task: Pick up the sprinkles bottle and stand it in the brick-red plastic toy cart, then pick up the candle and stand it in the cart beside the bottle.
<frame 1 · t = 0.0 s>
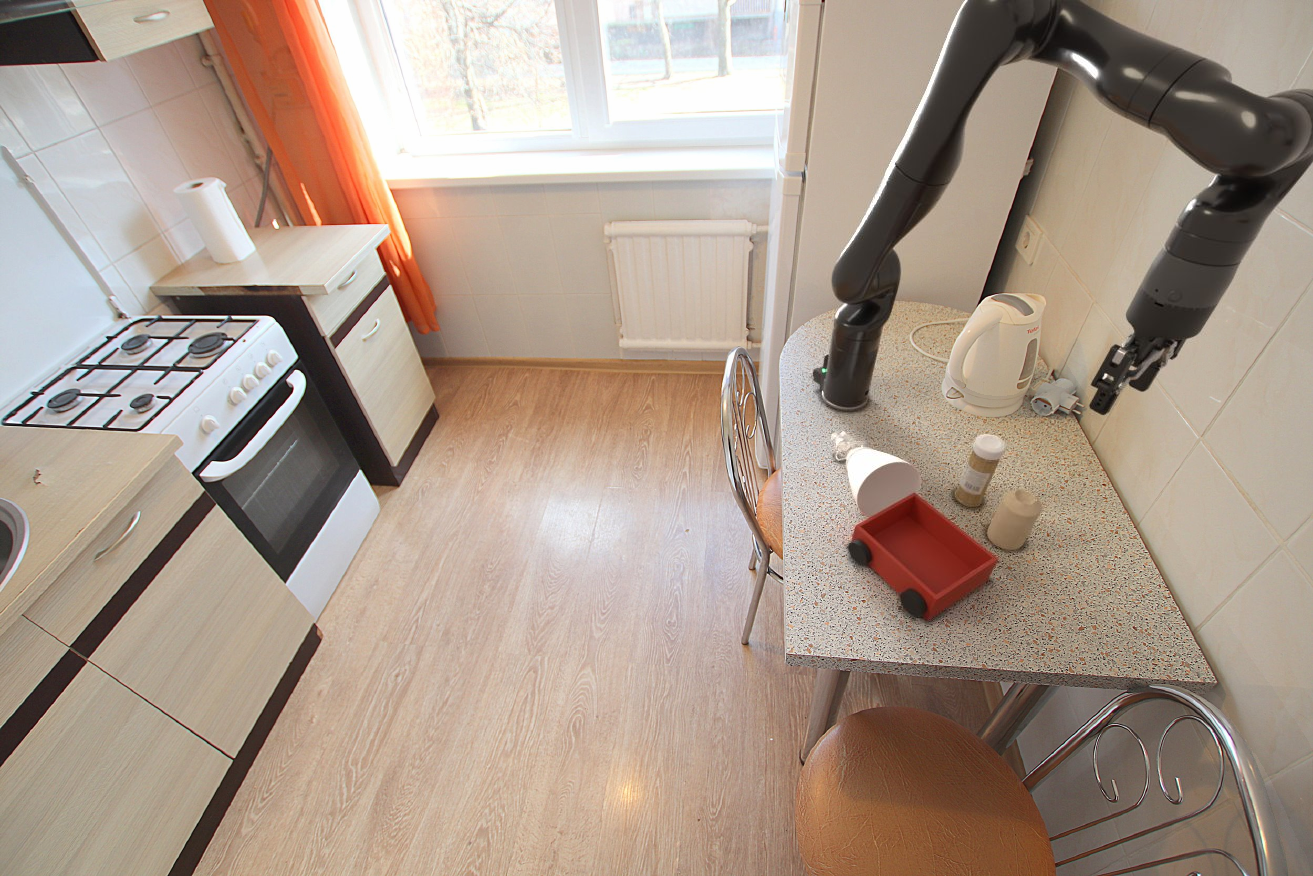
hand: (1117, 399, 81), 29 cm above the table, tool pointing down, fingers open, 8 cm apart
sprinkles bottle: (967, 499, 108), on the table
rocket engine: (869, 481, 112), on the table
candle: (1004, 538, 101), on the table
cart wheels: (916, 563, 98), on the table
cart: (916, 563, 98), on the table
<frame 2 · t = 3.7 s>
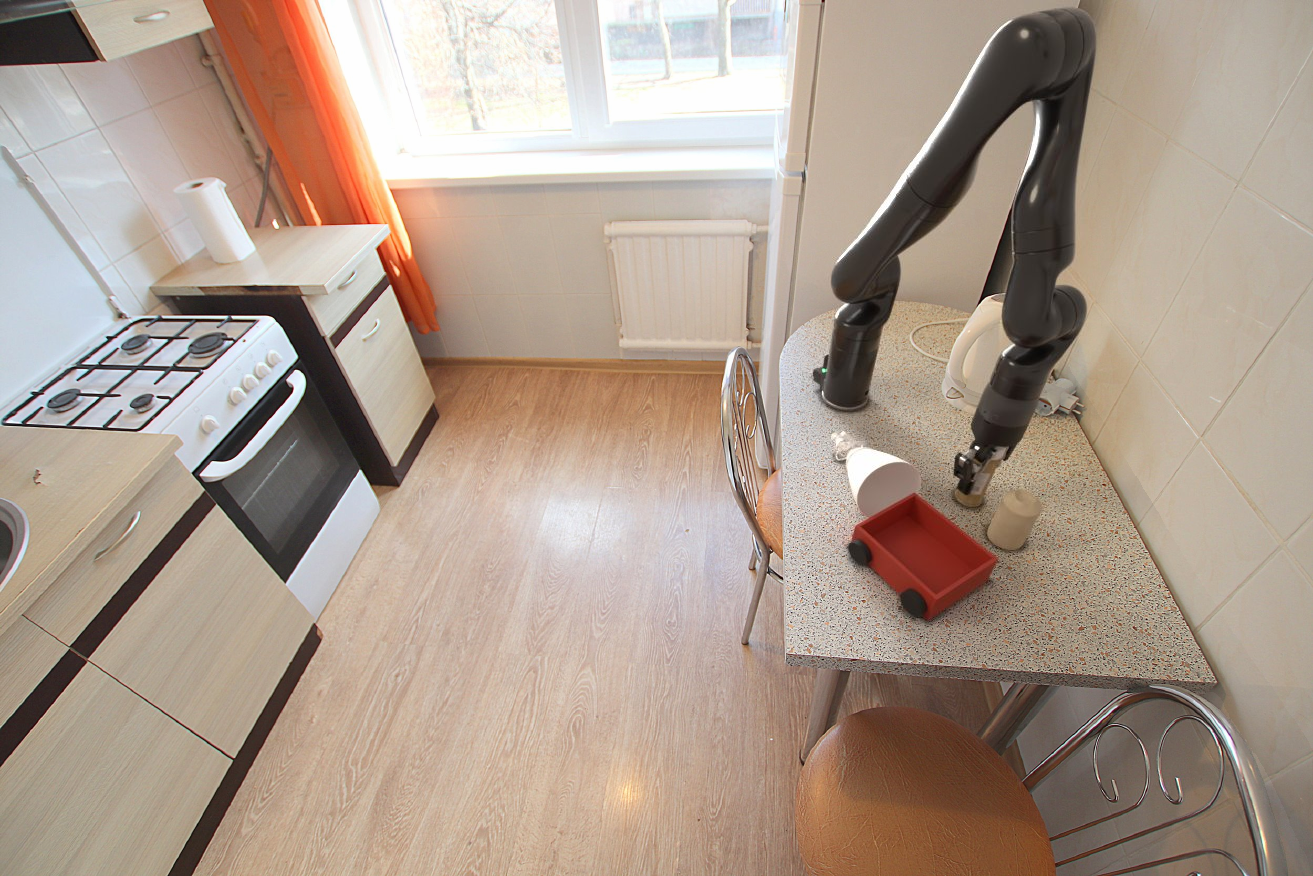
hand: (972, 485, 106), 3 cm above the table, tool pointing down, fingers closed on sprinkles bottle, 4 cm apart
sprinkles bottle: (967, 499, 108), on the table, touching gripper
everything else where it was.
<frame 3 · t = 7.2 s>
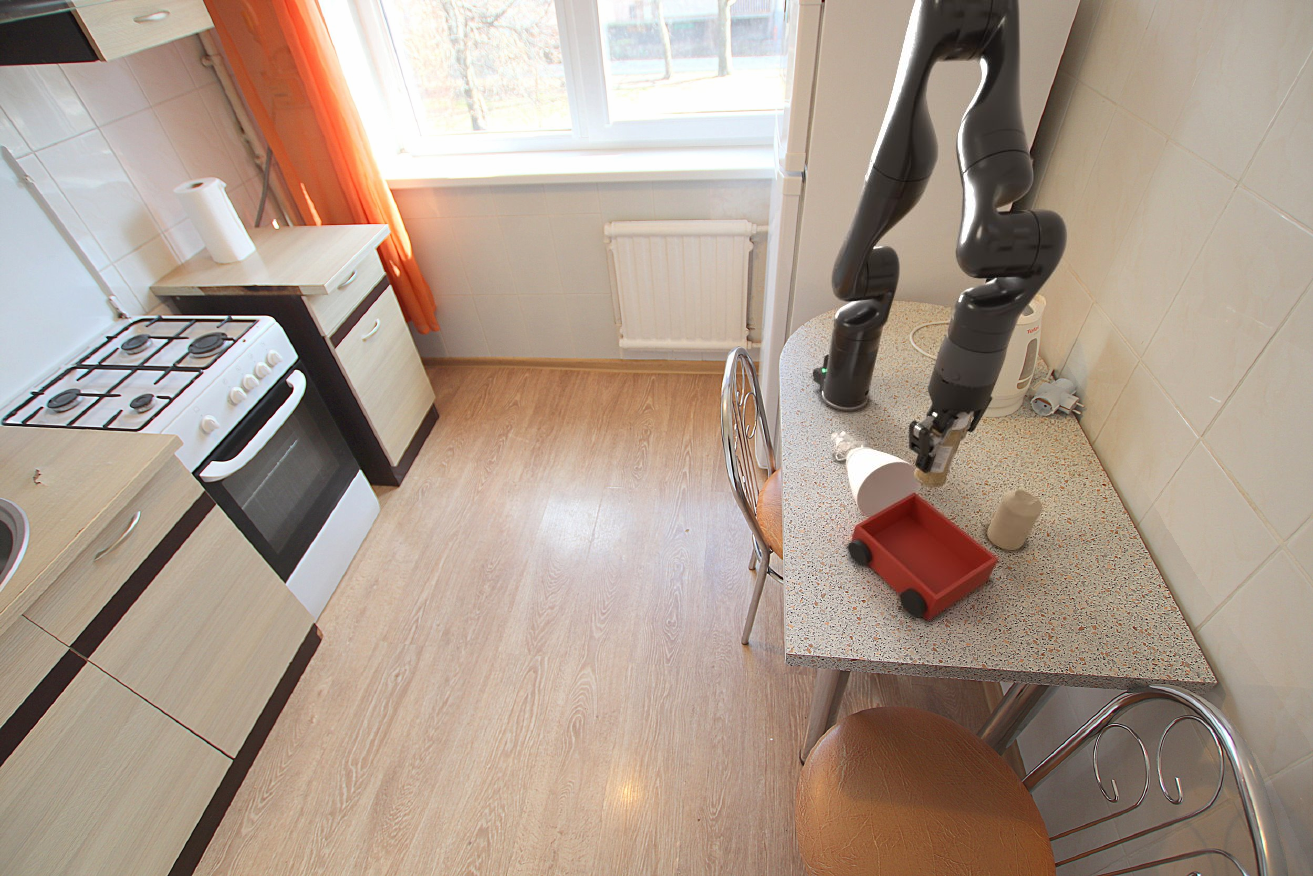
hand: (934, 462, 90), 18 cm above the table, tool pointing down, fingers closed on sprinkles bottle, 4 cm apart
sprinkles bottle: (928, 478, 92), point 15 cm above the table, touching gripper
everything else where it was.
when the fingers open (4 cm above the table, at t = 10.8 s): sprinkles bottle stays where it is, resting on cart.
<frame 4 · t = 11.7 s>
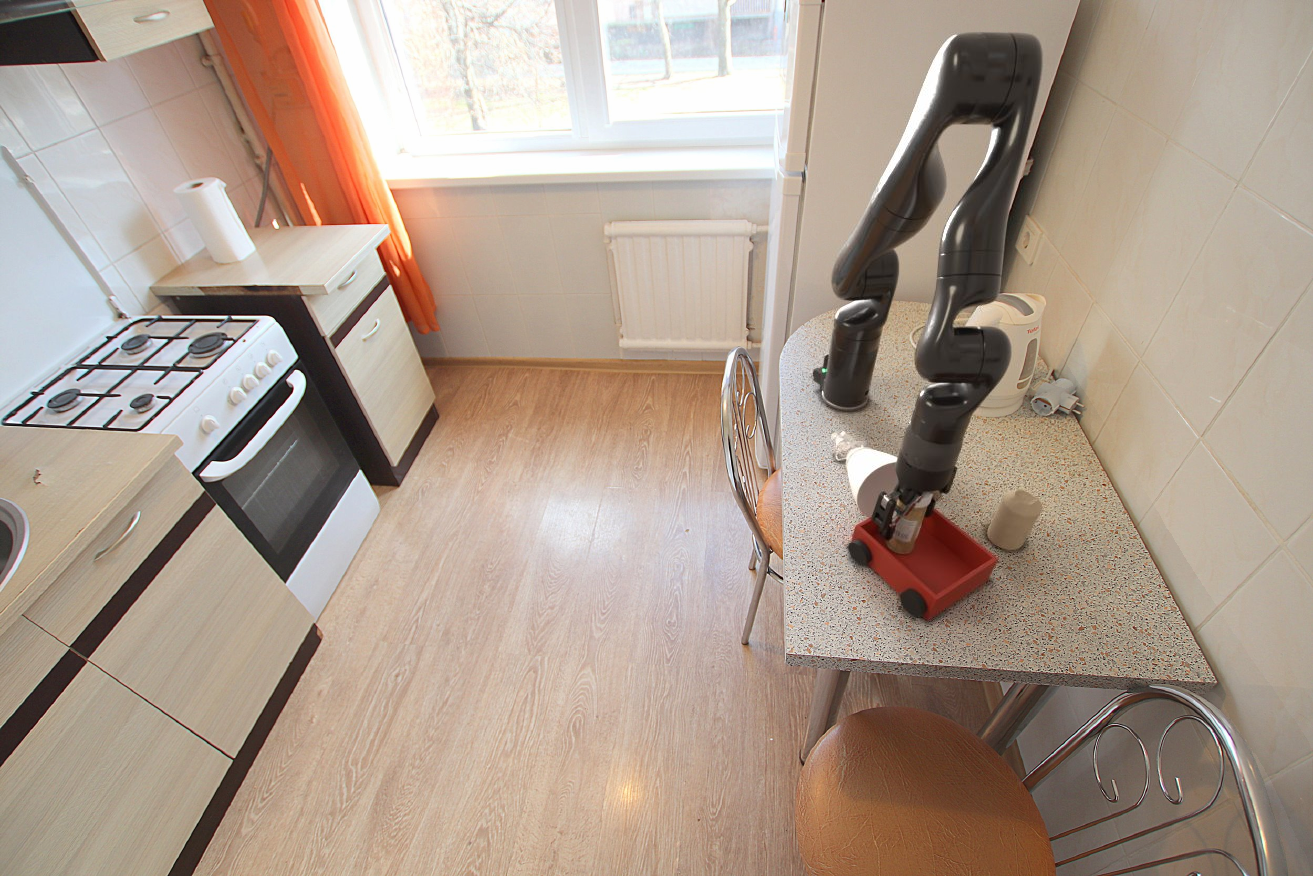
hand: (904, 524, 97), 6 cm above the table, tool pointing down, fingers open, 8 cm apart
sprinkles bottle: (898, 545, 101), resting on cart
everything else where it was.
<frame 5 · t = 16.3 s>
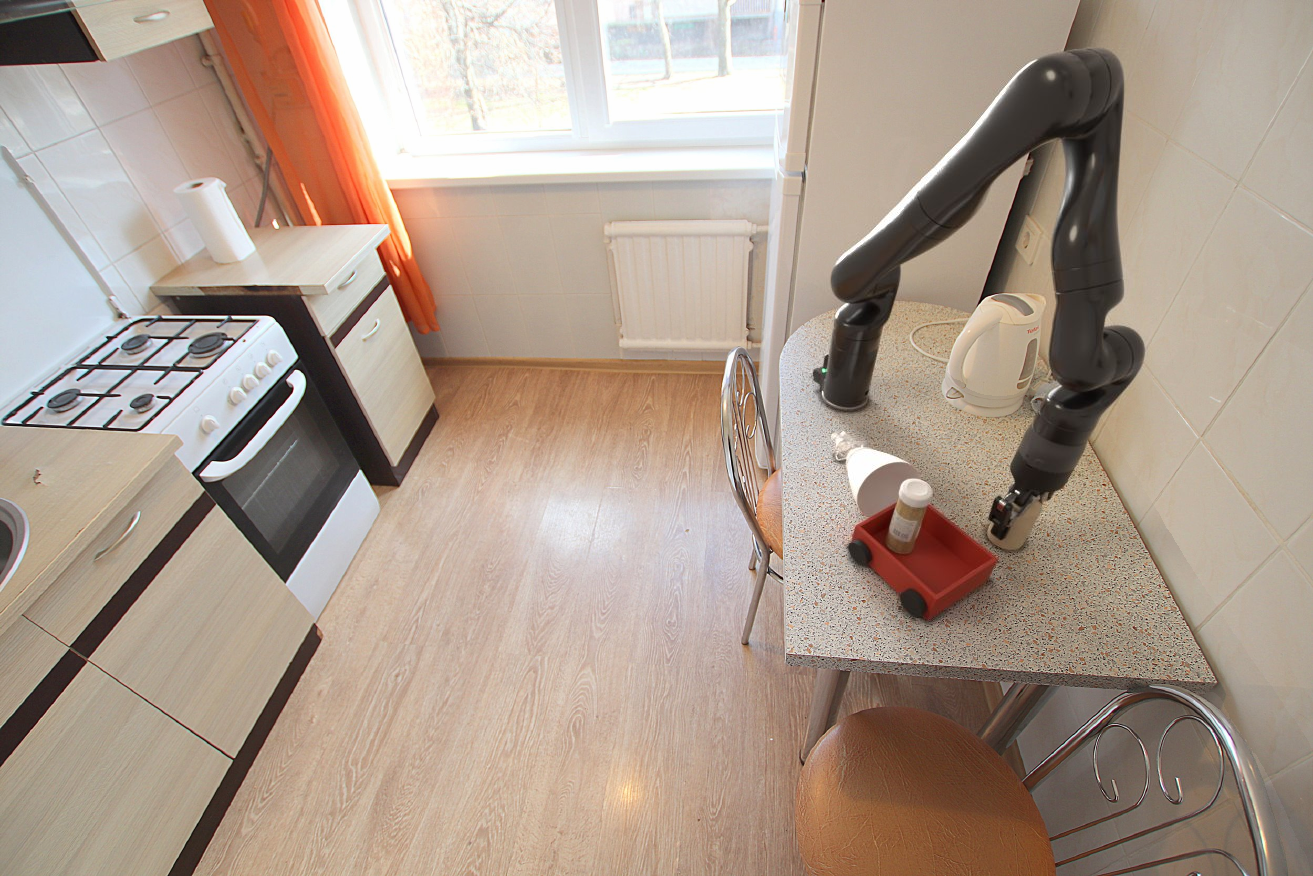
hand: (1009, 527, 100), 3 cm above the table, tool pointing down, fingers closed on candle, 5 cm apart
candle: (1004, 538, 101), on the table, touching gripper
everything else where it was.
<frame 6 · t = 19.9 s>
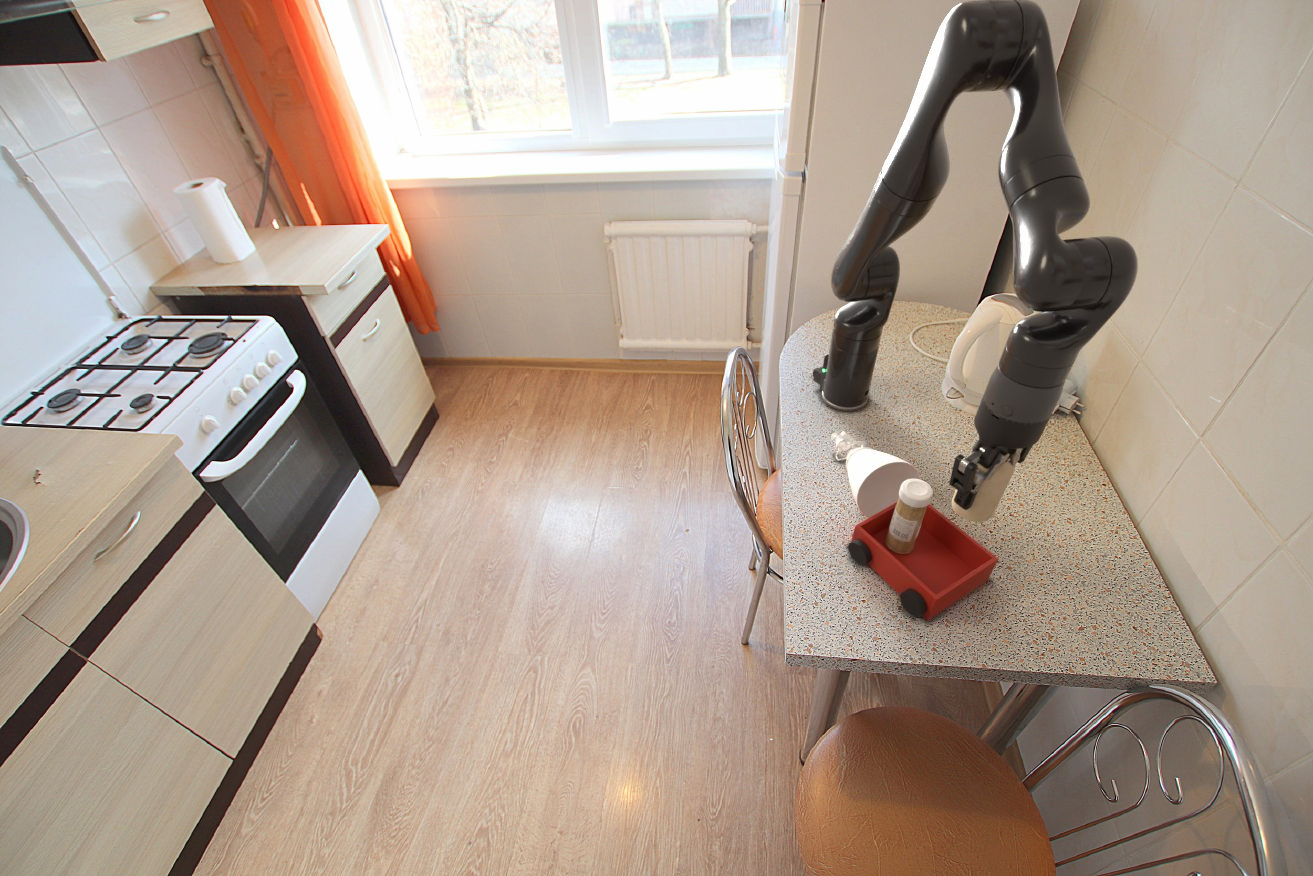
hand: (976, 495, 85), 18 cm above the table, tool pointing down, fingers closed on candle, 5 cm apart
candle: (971, 508, 86), point 16 cm above the table, touching gripper
everything else where it was.
when the fingers open (3 cm above the table, at t = 23.7 s): candle stays where it is, resting on cart.
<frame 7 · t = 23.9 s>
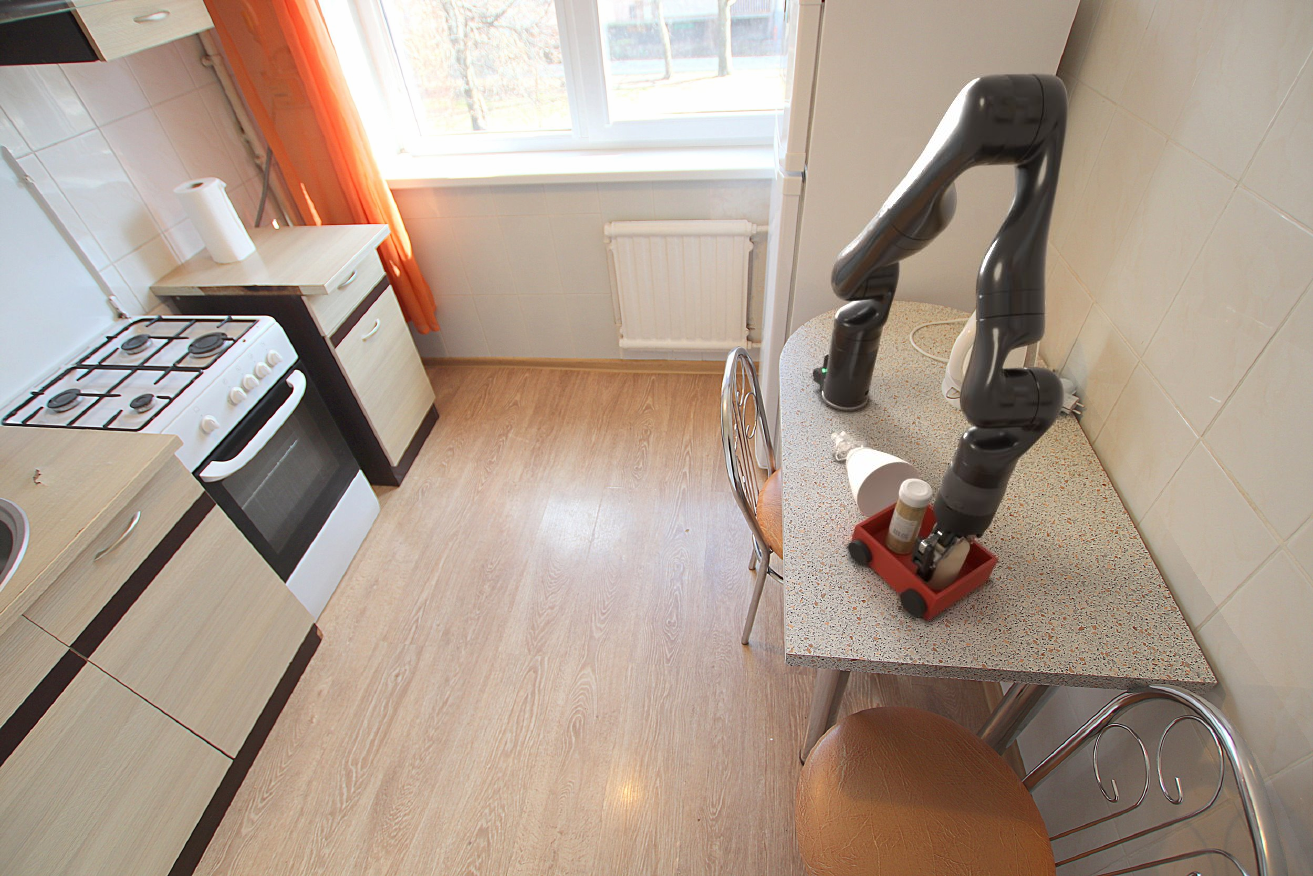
hand: (939, 566, 94), 3 cm above the table, tool pointing down, fingers open, 6 cm apart
candle: (934, 577, 96), resting on cart
everything else where it was.
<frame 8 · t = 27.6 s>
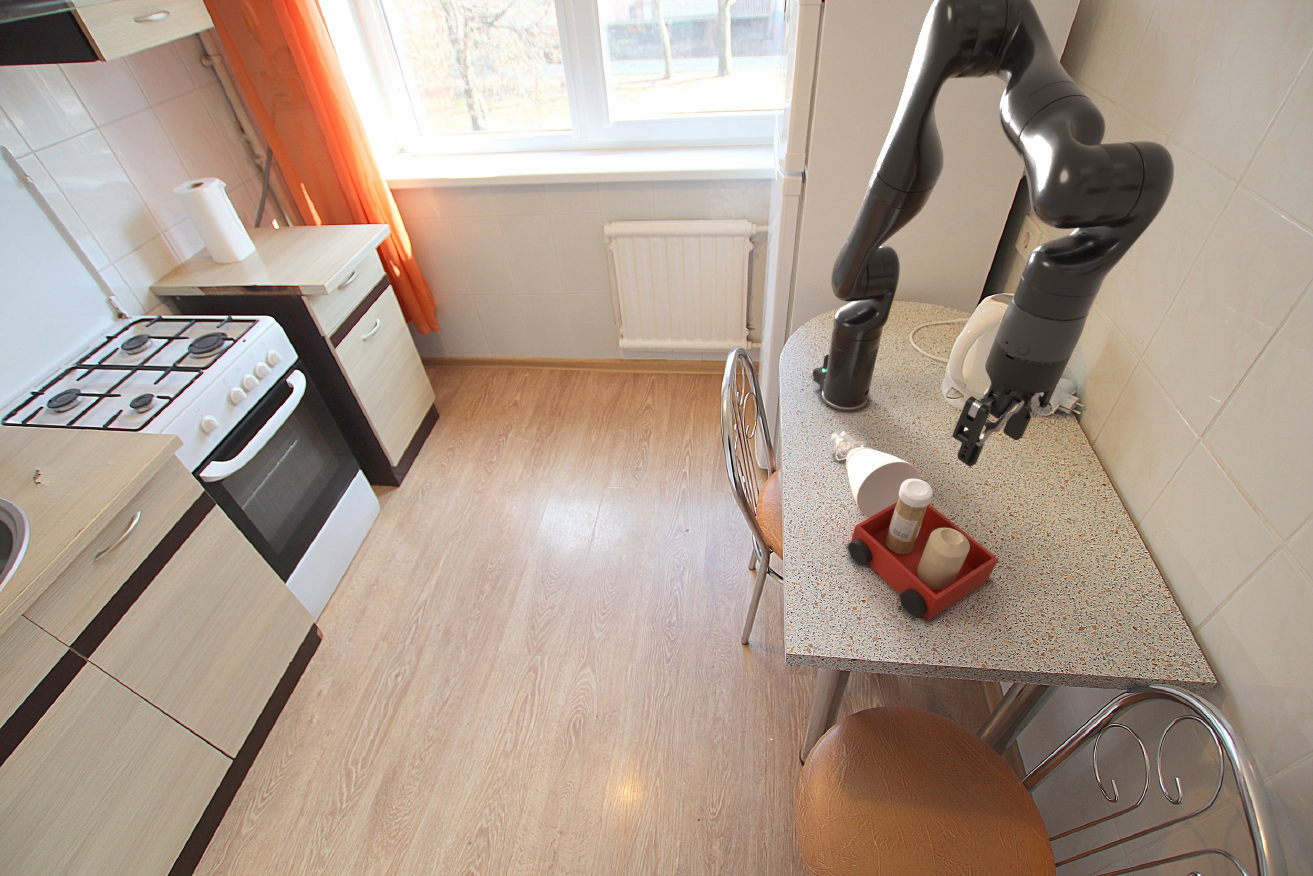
hand: (988, 448, 77), 28 cm above the table, tool pointing down, fingers open, 8 cm apart
nothing on the table moved.
at the end: sprinkles bottle inside the target area in the cart (4.0 cm from its centre), point 0.4 cm above the cart's base; candle inside the target area in the cart (3.5 cm from its centre), point 0.4 cm above the cart's base; sprinkles bottle tilted 0° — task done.
